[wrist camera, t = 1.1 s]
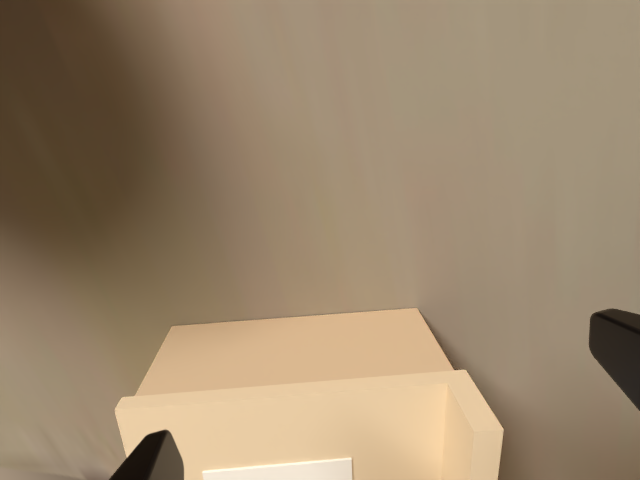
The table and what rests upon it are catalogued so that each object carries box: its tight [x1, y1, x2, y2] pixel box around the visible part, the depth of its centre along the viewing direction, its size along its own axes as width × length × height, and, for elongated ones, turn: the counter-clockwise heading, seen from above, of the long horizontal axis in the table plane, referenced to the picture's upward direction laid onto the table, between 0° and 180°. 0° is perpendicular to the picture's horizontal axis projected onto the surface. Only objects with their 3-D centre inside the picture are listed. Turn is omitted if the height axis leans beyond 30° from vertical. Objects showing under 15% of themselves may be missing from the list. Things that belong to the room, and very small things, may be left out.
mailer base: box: [135, 308, 454, 396], centre depth 21 cm, size 13×10×6 cm
